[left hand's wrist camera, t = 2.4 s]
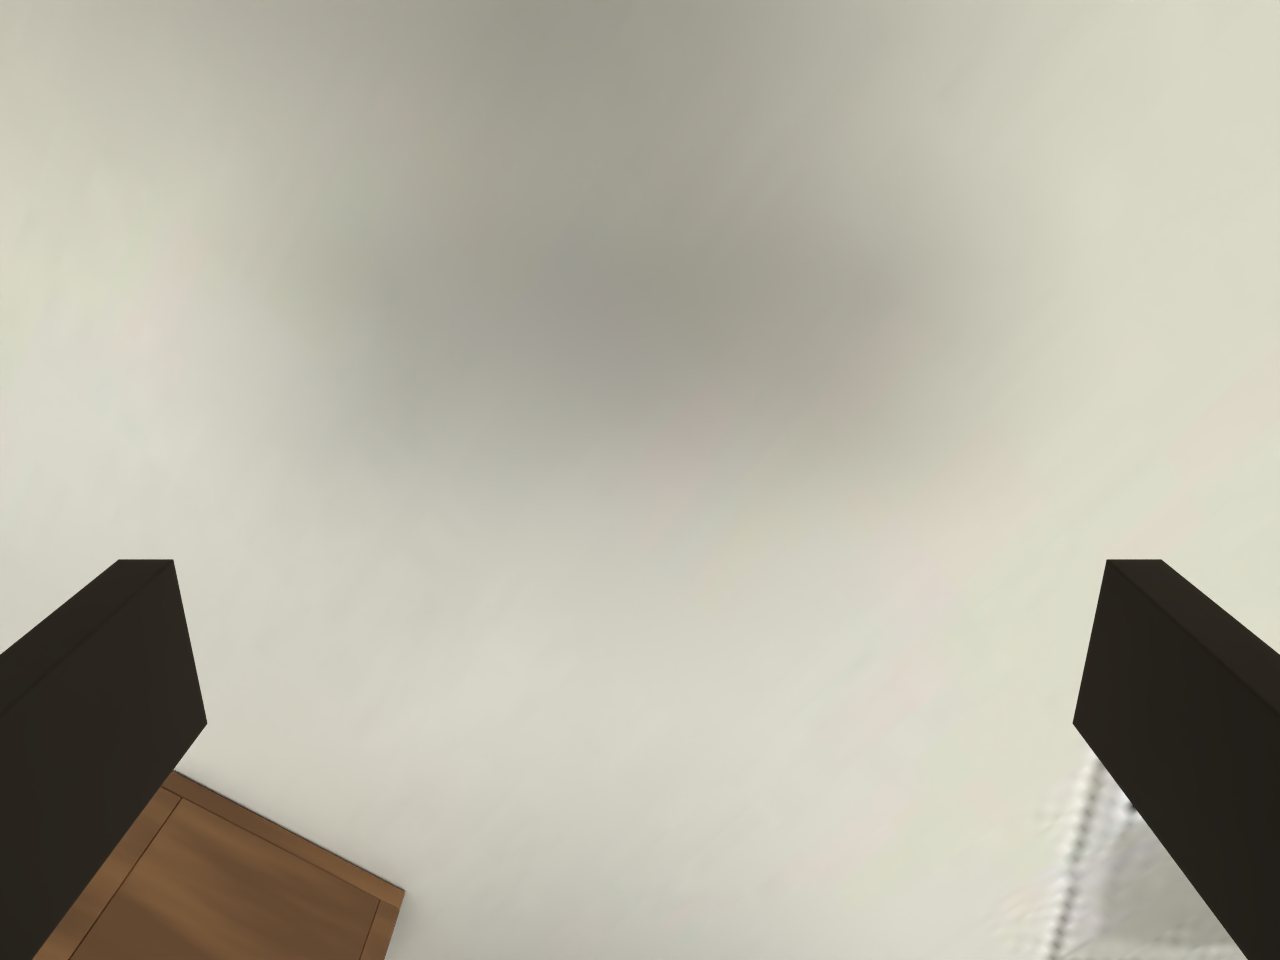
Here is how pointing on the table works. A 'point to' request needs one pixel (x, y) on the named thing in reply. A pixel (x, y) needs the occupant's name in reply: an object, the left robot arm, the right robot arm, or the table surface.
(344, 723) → the table surface
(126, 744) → the left robot arm
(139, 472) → the table surface
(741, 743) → the table surface
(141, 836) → the chest
